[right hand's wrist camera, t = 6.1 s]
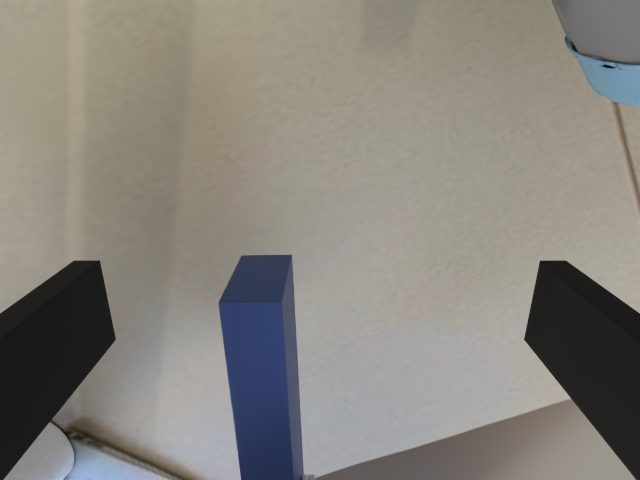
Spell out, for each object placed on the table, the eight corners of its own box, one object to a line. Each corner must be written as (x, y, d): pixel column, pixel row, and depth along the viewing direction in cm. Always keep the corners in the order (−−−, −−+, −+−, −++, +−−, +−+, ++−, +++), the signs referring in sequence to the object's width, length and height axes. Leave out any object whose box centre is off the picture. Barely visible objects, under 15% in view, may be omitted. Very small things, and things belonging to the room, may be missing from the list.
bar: (241, 255, 37) (218, 302, 29) (291, 254, 37) (282, 301, 29) (264, 479, 47) (251, 559, 39) (303, 479, 46) (298, 559, 39)
